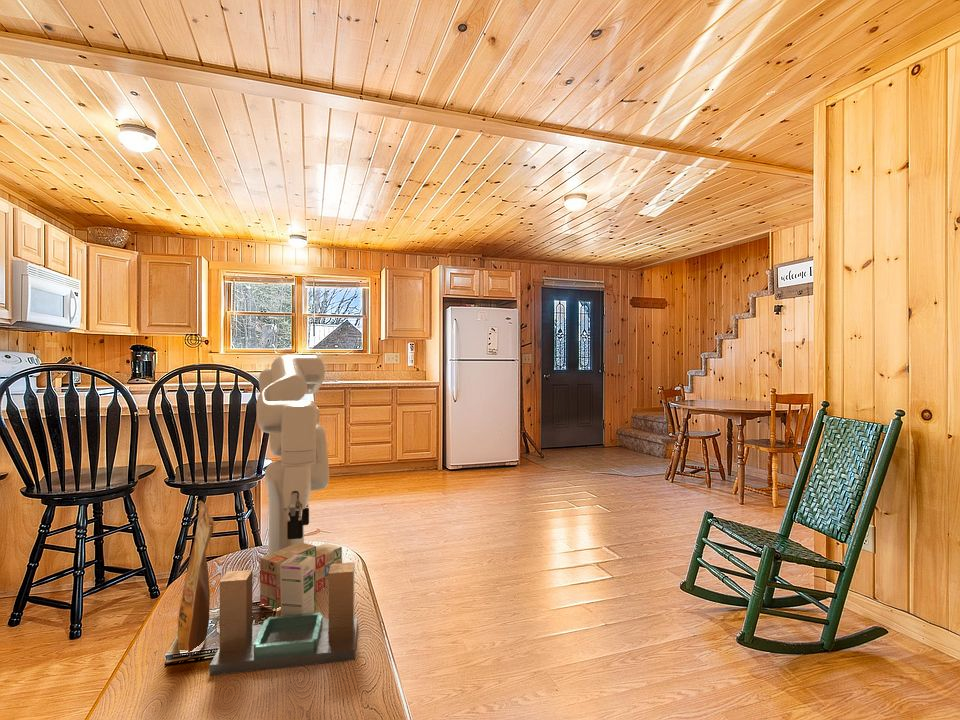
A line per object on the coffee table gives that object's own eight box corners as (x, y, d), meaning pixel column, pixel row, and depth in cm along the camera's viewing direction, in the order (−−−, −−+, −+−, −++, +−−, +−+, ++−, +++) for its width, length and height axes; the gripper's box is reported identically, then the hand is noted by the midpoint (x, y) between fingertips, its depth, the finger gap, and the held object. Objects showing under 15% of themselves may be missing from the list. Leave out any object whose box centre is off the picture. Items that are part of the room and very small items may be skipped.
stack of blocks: (326, 575, 143) (326, 531, 143) (342, 580, 140) (342, 535, 140) (259, 606, 125) (259, 556, 125) (276, 613, 122) (276, 561, 122)
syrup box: (303, 629, 114) (303, 564, 114) (279, 626, 115) (279, 562, 115) (316, 616, 120) (316, 555, 120) (293, 614, 121) (293, 553, 121)
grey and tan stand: (230, 636, 111) (230, 563, 111) (357, 624, 116) (357, 554, 116) (209, 675, 97) (209, 592, 97) (354, 659, 102) (354, 580, 102)
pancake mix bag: (214, 614, 120) (214, 496, 120) (213, 656, 103) (213, 519, 103) (181, 621, 117) (181, 500, 117) (174, 665, 100) (175, 524, 100)
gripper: (288, 451, 125) (288, 521, 125) (273, 465, 108) (273, 545, 108) (319, 450, 127) (320, 519, 126) (310, 463, 110) (310, 543, 109)
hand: (298, 531), depth 117 cm, fingers open, 9 cm apart
